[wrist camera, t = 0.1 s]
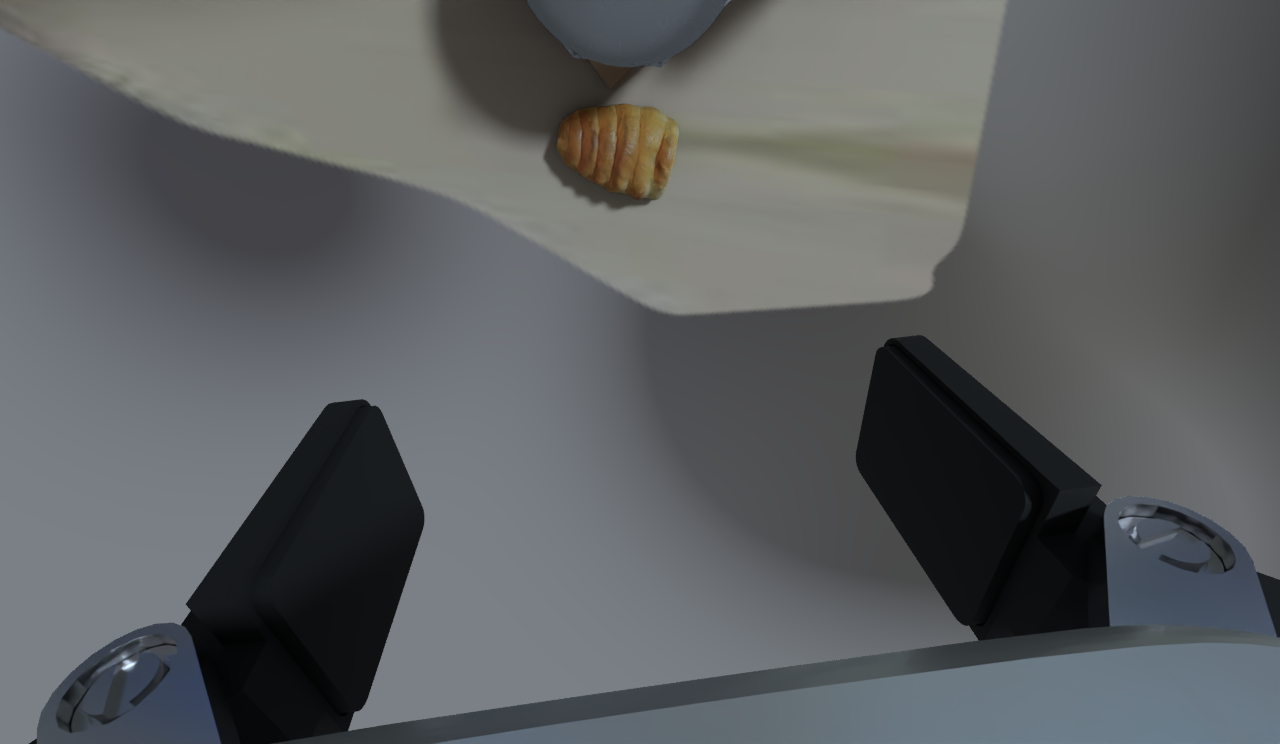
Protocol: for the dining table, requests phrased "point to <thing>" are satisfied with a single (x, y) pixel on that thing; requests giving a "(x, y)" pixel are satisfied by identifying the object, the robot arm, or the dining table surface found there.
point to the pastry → (620, 148)
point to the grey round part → (627, 27)
